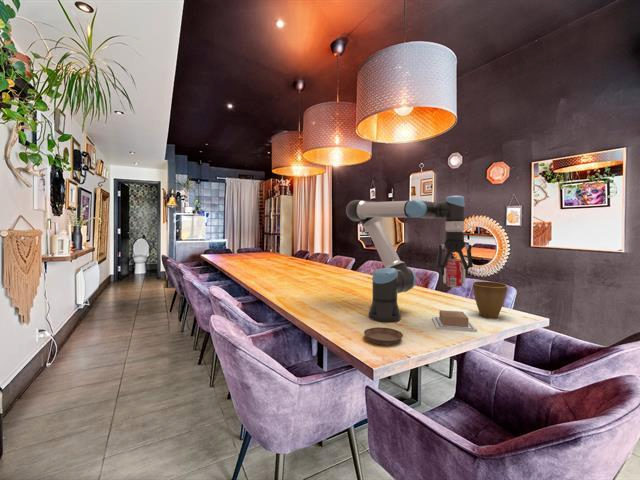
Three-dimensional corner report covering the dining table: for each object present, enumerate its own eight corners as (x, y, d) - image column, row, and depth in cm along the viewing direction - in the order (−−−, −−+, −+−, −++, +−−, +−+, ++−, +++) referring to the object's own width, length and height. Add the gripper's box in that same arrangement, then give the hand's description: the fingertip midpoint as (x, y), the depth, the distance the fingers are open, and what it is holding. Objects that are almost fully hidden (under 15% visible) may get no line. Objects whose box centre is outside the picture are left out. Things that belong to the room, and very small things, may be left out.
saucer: (375, 330, 125) (375, 324, 125) (409, 339, 115) (409, 332, 115) (356, 340, 114) (356, 333, 113) (392, 351, 104) (392, 343, 104)
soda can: (459, 285, 134) (459, 258, 134) (465, 288, 127) (465, 260, 127) (443, 284, 135) (443, 258, 134) (448, 287, 128) (448, 260, 127)
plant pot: (468, 311, 154) (468, 280, 154) (499, 312, 151) (500, 281, 151) (477, 319, 140) (477, 286, 139) (511, 321, 137) (512, 287, 136)
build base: (436, 328, 127) (436, 317, 127) (431, 319, 140) (432, 308, 140) (477, 331, 123) (477, 319, 123) (468, 321, 137) (468, 310, 137)
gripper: (431, 231, 129) (431, 283, 130) (482, 231, 124) (481, 285, 125) (429, 231, 136) (429, 280, 137) (477, 231, 131) (476, 282, 132)
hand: (453, 282), depth 131 cm, fingers closed on soda can, 7 cm apart
